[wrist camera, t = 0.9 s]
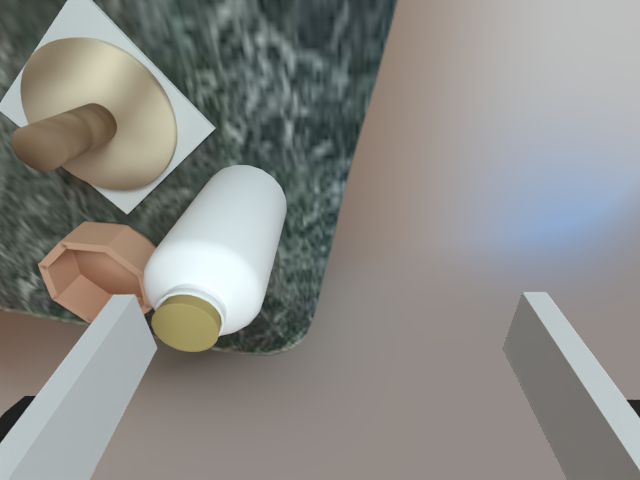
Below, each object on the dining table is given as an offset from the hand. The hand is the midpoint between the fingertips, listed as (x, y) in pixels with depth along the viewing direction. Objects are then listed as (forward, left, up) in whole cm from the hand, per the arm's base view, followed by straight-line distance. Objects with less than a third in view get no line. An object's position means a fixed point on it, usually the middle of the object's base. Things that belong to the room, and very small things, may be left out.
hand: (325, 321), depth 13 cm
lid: (-14, -15, -24) cm, 31 cm away
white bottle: (0, -11, -24) cm, 27 cm away
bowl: (-4, -28, -24) cm, 37 cm away
